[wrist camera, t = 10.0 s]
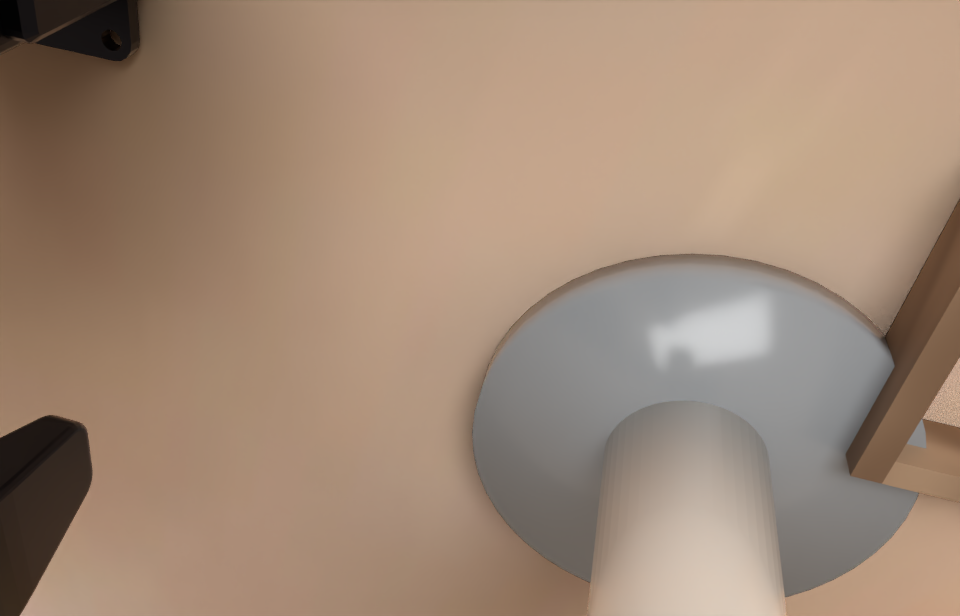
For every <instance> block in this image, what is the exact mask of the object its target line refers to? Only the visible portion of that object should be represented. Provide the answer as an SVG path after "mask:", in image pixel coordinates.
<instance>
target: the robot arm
mask: <svg viewBox="0 0 960 616" xmlns="http://www.w3.org/2000/svg"><path fill="white" fill-rule="evenodd" d="M110 30H112V31H114V32H116V33H117V34H118V36H119V37H120V39H121V42H122V44H121V45H119V44H116V43H115V42H114V40H113V39H112V37H111V34H110ZM139 42H140V37H139V24H138V12H137V0H0V55H1V54H3V53H5V52H7V51H9V50H11V49H13V48H15V47H17V46H19V45H21V44H23V43H37V44H41V45H46V46H50V47H55V48H59V49H64V50H68V51H72V52H77V53H81V54H86V55H90V56H95V57H99V58H104V59H108V60H113V61H121V60H123V59H126V58H127V57H129V56H131V55H132V54H134V53H135V52H136V51H137V49H138V48H139ZM91 481H92V463H91V455H90V447H89V440H88V433H87V429H86V428H85V426H84V425H83V424H82V423H80V422H77V421H73V420H70V419H66V418H63V417H59V416H54V415H48V416H45V417H42V418H39V419H37V420H35V421H33V422H31V423H29V424H27V425H25V426H23V427H21V428H19V429H17V430H15V431H13V432H11V433H9V434H7V435H5V436H3V437H1V438H0V616H20V614H21V613H22V611H23V610H24V608H25V606H26V604H27V603H28V601H29V599H30V597H31V596H32V594H33V592H34V590H35V589H36V587H37V585H38V583H39V581H40V579H41V577H42V576H43V574H44V572H45V570H46V568H47V566H48V565H49V563H50V561H51V559H52V557H53V555H54V554H55V552H56V550H57V548H58V546H59V544H60V542H61V541H62V539H63V537H64V535H65V533H66V531H67V530H68V528H69V526H70V524H71V522H72V520H73V518H74V517H75V515H76V513H77V511H78V509H79V507H80V506H81V504H82V502H83V500H84V498H85V496H86V494H87V492H88V490H89V488H90V485H91Z"/></svg>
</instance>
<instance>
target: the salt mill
mask: <svg viewBox="0 0 960 616" xmlns="http://www.w3.org/2000/svg"><path fill="white" fill-rule="evenodd" d="M587 616H787V613H786V604H785V595H784V586H783V577H782V568H781V560H780V551H779V542H778V533H777V524H776V516H775V507H774V498H773V489H772V480H771V471H770V463H769V456H768V451H767V448H766V445H765V443H764V441H763V440H762V438H761V436H760V435H759V434H758V432H757V431H756V430H755V429H754V428H753V427H752V426H751V425H750V424H749V423H748V422H747V421H745V420H744V419H742V418H741V417H740V416H738V415H736V414H734V413H733V412H731V411H729V410H726V409H724V408H721V407H718V406H715V405H712V404H708V403H702V402H696V401H669V402H662V403H658V404H653V405H650V406H647V407H644V408H642V409H640V410H638V411H636V412H634V413H632V414H631V415H629V416H627V417H626V418H625V419H624V420H622V421H621V422H620V423H619V424H618V425H617V426H616V427H615V428H614V430H613V431H612V433H611V434H610V436H609V438H608V441H607V443H606V447H605V451H604V461H603V470H602V480H601V489H600V499H599V508H598V517H597V527H596V536H595V546H594V555H593V564H592V574H591V583H590V593H589V602H588V612H587Z"/></svg>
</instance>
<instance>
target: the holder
mask: <svg viewBox="0 0 960 616" xmlns="http://www.w3.org/2000/svg"><path fill="white" fill-rule="evenodd" d="M886 340H887V343H888V346H889V349H890V352H891V355H892V359H893V362H894V365H895V367H894V369H893V370H892V372H891V374H890V376H889V377H888V379H887V381H886V383H885V385H884V386H883V388H882V390H881V392H880V394H879V395H878V397H877V399H876V401H875V402H874V404H873V406H872V408H871V410H870V411H869V413H868V415H867V417H866V418H865V420H864V422H863V424H862V426H861V427H860V429H859V431H858V433H857V434H856V436H855V438H854V440H853V442H852V443H851V445H850V447H849V449H848V451H847V452H846V459H847V463H848V468H849V473H850V476H852V477H856V478H860V479H865V480H869V481H873V482H877V483H881V484H885V485H889V486H893V487H897V488H901V489H906V490H910V491H914V492H918V493H922V494H926V495H930V496H934V497H938V498H942V499H947V500H951V501H955V502H959V503H960V428H958V427H954V426H950V425H946V424H941V423H937V422H933V421H929V420H925V419H922V418H923V416H924V414H925V413H926V411H927V409H928V408H929V406H930V405H931V403H932V401H933V400H934V398H935V396H936V395H937V393H938V391H939V390H940V388H941V387H942V385H943V383H944V382H945V380H946V378H947V377H948V375H949V374H950V372H951V370H952V369H953V367H954V365H955V364H956V362H957V361H958V359H959V357H960V200H959V202H958V204H957V205H956V207H955V209H954V211H953V213H952V215H951V217H950V218H949V220H948V222H947V224H946V226H945V228H944V230H943V231H942V233H941V235H940V237H939V239H938V241H937V242H936V244H935V246H934V248H933V250H932V252H931V254H930V255H929V257H928V259H927V261H926V263H925V265H924V267H923V268H922V270H921V272H920V274H919V276H918V278H917V280H916V281H915V283H914V285H913V287H912V289H911V291H910V293H909V294H908V296H907V298H906V300H905V302H904V304H903V306H902V307H901V309H900V311H899V313H898V315H897V317H896V319H895V320H894V322H893V324H892V326H891V328H890V330H889V332H888V333H887V335H886ZM921 419H922V420H923V424H924V428H925V432H926V448H927V449H926V448H922V447H918V446H913V445H909V444H907V442H908V440H909V439H910V437H911V436H912V434H913V432H914V431H915V429H916V427H917V426H918V424H919V422H920V421H921Z"/></svg>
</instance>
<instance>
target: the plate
mask: <svg viewBox="0 0 960 616" xmlns="http://www.w3.org/2000/svg"><path fill="white" fill-rule="evenodd" d="M894 367H895V365H894V362H893V359H892V355H891V352H890V349H889V346H888V343H887V340H886V337H885V335H884V334H883V333H882V332H881V331H880V330H879V329H878V328H877V327H876V326H875V325H874V324H873V323H872V322H871V321H870V320H869V319H868V318H867V317H866V316H865V315H864V314H863V313H862V312H860V311H859V310H858V309H857V308H855V307H854V306H853V305H851V304H850V303H849V302H848V301H846V300H845V299H844V298H842V297H841V296H839V295H837V294H835V293H834V292H832V291H830V290H829V289H827V288H825V287H823V286H822V285H820V284H818V283H816V282H814V281H812V280H809V279H807V278H805V277H802V276H800V275H798V274H795V273H793V272H791V271H788V270H785V269H782V268H778V267H775V266H771V265H768V264H764V263H761V262H757V261H752V260H746V259H741V258H735V257H729V256H720V255H703V254H679V255H660V256H654V257H647V258H641V259H635V260H629V261H625V262H622V263H618V264H615V265H611V266H608V267H604V268H601V269H598V270H596V271H593V272H591V273H588V274H586V275H584V276H581V277H579V278H576V279H574V280H572V281H570V282H568V283H567V284H565V285H563V286H562V287H560V288H558V289H556V290H555V291H553V292H551V293H549V294H548V295H547V296H545V297H544V298H543V299H541V300H540V301H539V302H538V303H536V304H535V305H534V306H532V307H531V308H530V309H529V310H527V312H526V313H525V314H524V315H523V316H522V317H521V318H520V319H519V320H518V321H517V322H516V323H515V324H514V325H513V326H512V327H511V328H510V330H509V331H508V333H507V334H506V335H505V337H504V338H503V340H502V341H501V342H500V344H499V345H498V347H497V349H496V351H495V353H494V355H493V357H492V359H491V361H490V363H489V365H488V369H487V372H486V375H485V379H484V382H483V386H482V389H481V392H480V396H479V399H478V403H477V406H476V409H475V413H474V422H473V431H472V436H473V452H474V457H475V461H476V466H477V470H478V474H479V476H480V479H481V481H482V483H483V486H484V488H485V491H486V493H487V495H488V496H489V498H490V500H491V501H492V503H493V505H494V506H495V508H496V510H497V511H498V512H499V514H500V515H501V516H502V518H503V519H504V520H505V521H506V523H507V524H508V525H509V526H510V528H511V529H512V530H513V531H514V532H515V533H516V534H517V535H518V536H519V537H520V538H521V539H522V540H523V541H524V542H525V543H527V544H528V545H529V546H530V547H532V548H533V549H534V550H535V551H537V552H538V553H539V554H541V555H542V556H543V557H544V558H546V559H548V560H549V561H551V562H552V563H554V564H555V565H557V566H559V567H560V568H562V569H563V570H565V571H567V572H569V573H571V574H573V575H575V576H577V577H579V578H581V579H583V580H585V581H587V582H590V583H591V574H592V564H593V555H594V546H595V536H596V527H597V517H598V508H599V499H600V489H601V480H602V470H603V461H604V451H605V447H606V443H607V441H608V438H609V436H610V434H611V433H612V431H613V430H614V428H615V427H616V426H617V425H618V424H619V423H620V422H621V421H622V420H624V419H625V418H626V417H627V416H629V415H631V414H632V413H634V412H636V411H638V410H640V409H642V408H644V407H647V406H650V405H653V404H658V403H662V402H669V401H696V402H702V403H708V404H712V405H715V406H718V407H721V408H724V409H726V410H729V411H731V412H733V413H734V414H736V415H738V416H740V417H741V418H742V419H744V420H745V421H747V422H748V423H749V424H750V425H751V426H752V427H753V428H754V429H755V430H756V431H757V432H758V434H759V435H760V436H761V438H762V440H763V441H764V443H765V445H766V448H767V451H768V456H769V463H770V471H771V480H772V489H773V498H774V507H775V516H776V524H777V533H778V542H779V551H780V560H781V568H782V577H783V586H784V595H785V597H788V596H792V595H795V594H798V593H801V592H804V591H808V590H811V589H813V588H815V587H818V586H820V585H822V584H825V583H827V582H829V581H832V580H834V579H836V578H838V577H839V576H841V575H843V574H845V573H846V572H848V571H850V570H852V569H854V568H855V567H857V566H858V565H859V564H861V563H862V562H863V561H865V560H866V559H868V558H869V557H870V556H872V555H873V554H874V553H876V552H877V551H878V550H879V549H880V548H881V547H882V546H883V545H884V544H885V543H886V542H887V541H888V540H889V539H890V538H891V537H892V536H893V535H894V533H895V532H896V531H897V530H898V528H899V527H900V526H901V524H902V523H903V522H904V521H905V519H906V518H907V516H908V514H909V512H910V510H911V509H912V507H913V505H914V503H915V501H916V499H917V497H918V494H919V493H918V492H914V491H910V490H906V489H901V488H897V487H893V486H889V485H885V484H881V483H877V482H873V481H869V480H865V479H860V478H856V477H852V476H850V473H849V468H848V463H847V459H846V452H847V451H848V449H849V447H850V445H851V443H852V442H853V440H854V438H855V436H856V434H857V433H858V431H859V429H860V427H861V426H862V424H863V422H864V420H865V418H866V417H867V415H868V413H869V411H870V410H871V408H872V406H873V404H874V402H875V401H876V399H877V397H878V395H879V394H880V392H881V390H882V388H883V386H884V385H885V383H886V381H887V379H888V377H889V376H890V374H891V372H892V370H893V369H894ZM907 444H909V445H913V446H918V447H922V448H926V432H925V428H924V424H923V420H922V419H921V421H920V422H919V424H918V426H917V427H916V429H915V431H914V432H913V434H912V436H911V437H910V439H909V440H908V442H907ZM926 449H927V448H926Z"/></svg>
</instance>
